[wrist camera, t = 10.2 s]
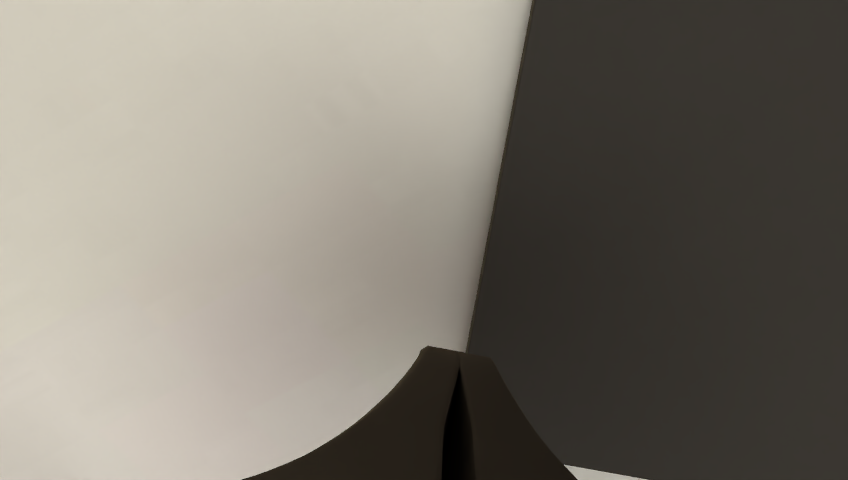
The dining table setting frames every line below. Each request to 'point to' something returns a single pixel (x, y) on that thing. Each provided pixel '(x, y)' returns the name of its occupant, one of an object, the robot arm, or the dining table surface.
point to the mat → (676, 238)
